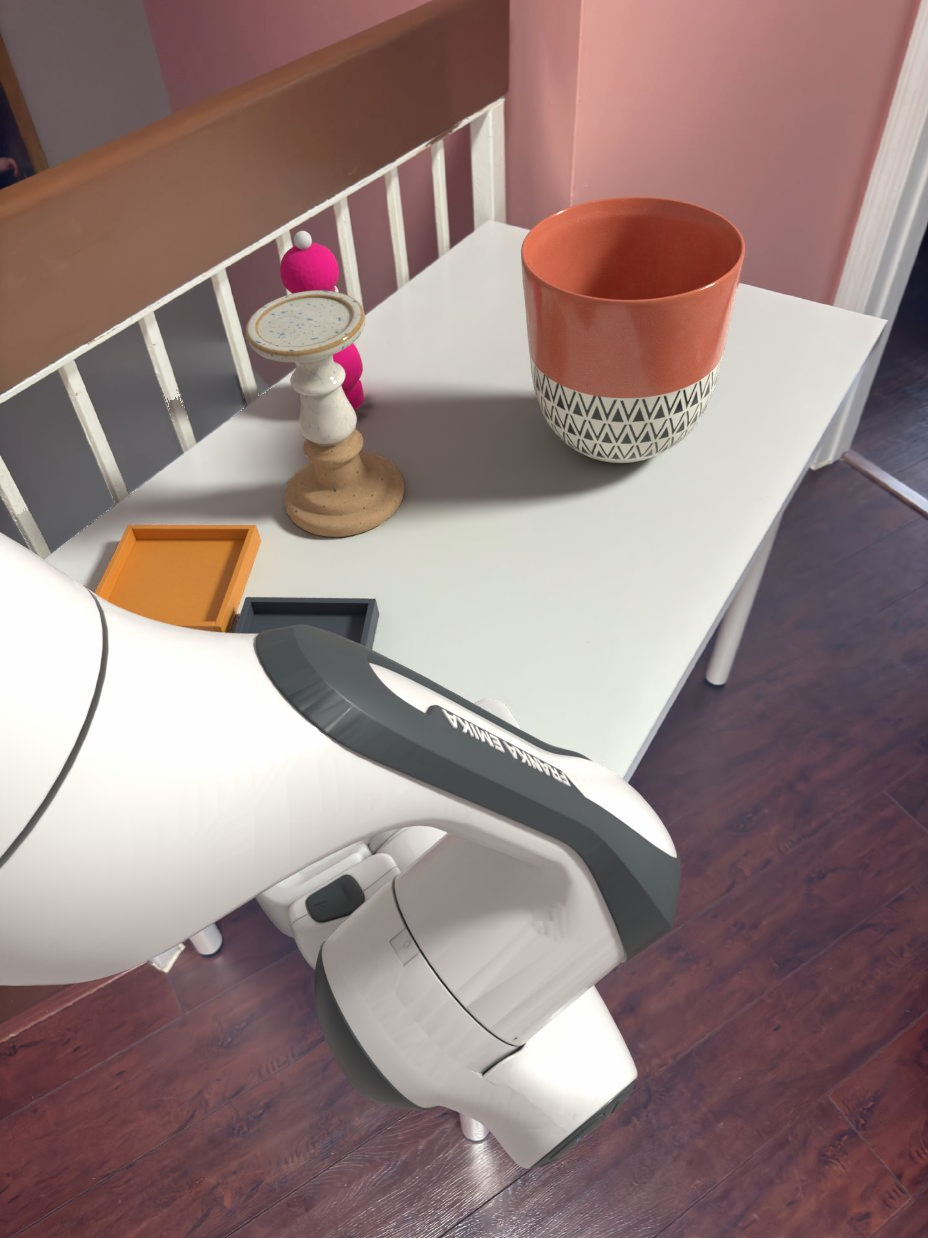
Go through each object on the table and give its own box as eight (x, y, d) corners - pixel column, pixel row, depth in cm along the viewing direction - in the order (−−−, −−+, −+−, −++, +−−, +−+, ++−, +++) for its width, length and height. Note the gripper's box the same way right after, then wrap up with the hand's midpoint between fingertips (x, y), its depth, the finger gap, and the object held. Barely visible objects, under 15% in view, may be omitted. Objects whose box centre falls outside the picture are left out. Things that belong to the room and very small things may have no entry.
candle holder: (306, 456, 99) (261, 282, 84) (416, 463, 96) (389, 284, 82) (270, 534, 91) (212, 356, 76) (389, 542, 89) (353, 361, 74)
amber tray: (87, 639, 83) (78, 624, 82) (135, 539, 92) (127, 524, 90) (226, 641, 82) (220, 626, 80) (261, 540, 90) (256, 524, 89)
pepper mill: (380, 392, 106) (351, 222, 91) (343, 426, 102) (306, 254, 87) (332, 377, 109) (296, 210, 94) (293, 409, 105) (249, 240, 90)
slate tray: (216, 719, 76) (209, 704, 74) (251, 612, 84) (245, 596, 82) (357, 723, 74) (353, 707, 73) (379, 614, 82) (376, 598, 81)
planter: (496, 474, 94) (483, 278, 78) (569, 373, 105) (571, 184, 89) (679, 522, 87) (705, 318, 71) (737, 409, 98) (771, 211, 82)
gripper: (577, 772, 56) (463, 631, 64) (269, 946, 50) (188, 766, 58) (575, 824, 61) (469, 686, 69) (294, 989, 54) (215, 816, 63)
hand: (338, 724), depth 64 cm, fingers closed on pill bottle, 6 cm apart
